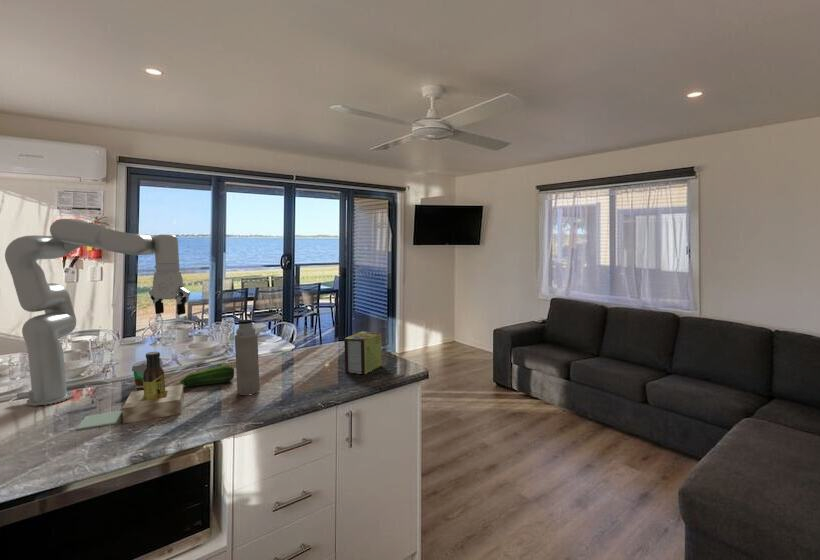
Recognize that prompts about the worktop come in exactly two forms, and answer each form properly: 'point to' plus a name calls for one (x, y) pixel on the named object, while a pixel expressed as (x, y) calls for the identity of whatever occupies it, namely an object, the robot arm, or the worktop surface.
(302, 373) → the worktop surface
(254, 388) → the thermos bottle
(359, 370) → the protein box
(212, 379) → the vegetable
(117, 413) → the pad
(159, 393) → the sauce bottle
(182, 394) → the socket block
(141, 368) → the food container
